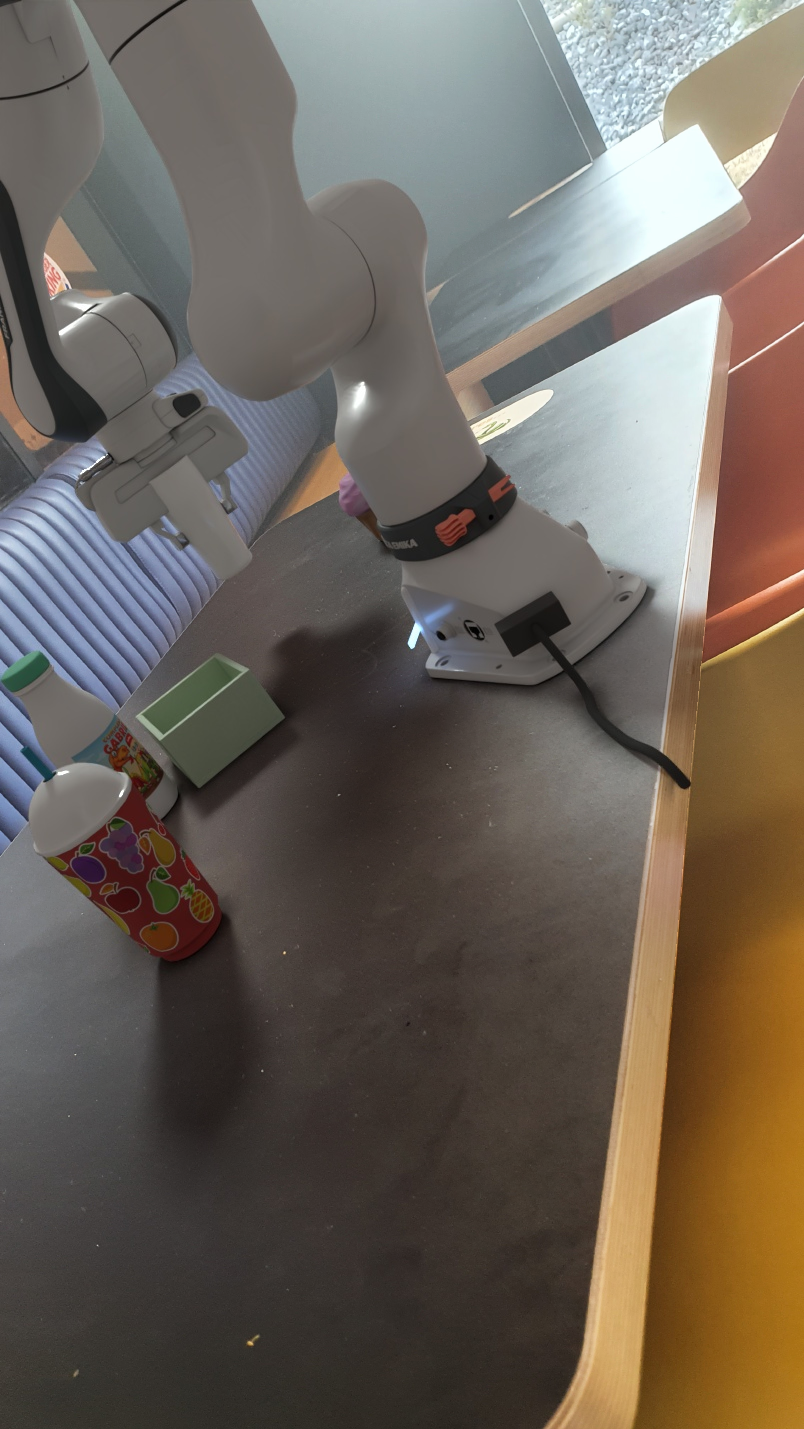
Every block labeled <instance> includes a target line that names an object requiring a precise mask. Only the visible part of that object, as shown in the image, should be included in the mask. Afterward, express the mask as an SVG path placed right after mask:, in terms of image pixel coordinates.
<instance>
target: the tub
mask: <svg viewBox="0 0 804 1429" xmlns="http://www.w3.org/2000/svg"><path fill="white" fill-rule="evenodd" d="M285 718H286V717H285V715H284V714H283V713H282V711H281V710H280V708H279V706H278V705H277V704H276V703H275V701H274V700H273V699H272V698H271V696H270V694H269V693H268V692H267V690H266V689H265V688H264V687H263V686H262V684H261V683H260V681H259V680H258V679H257V677H256V676H255V674H254V673H253V672H252V671H251V669H250V668H248V667H245V666H244V665H242V664H240V663H238V662H236V661H234V660H232V659H230V658H229V657H227V656H225V655H223V654H221V653H219V652H215V653H214V654H213V655H212V656H211V657H209V658H208V659H207V660H206V661H204V662H203V663H202V664H200V665H199V666H198V667H196V668H195V669H194V670H192V671H191V672H190V673H189V674H188V675H187V676H185V677H183V679H181V680H180V681H179V682H177V683H176V684H175V685H173V686H172V687H171V688H170V689H169V690H168V691H166V692H164V694H162V695H161V696H160V697H158V698H157V699H155V701H154V702H152V703H151V704H149V705H148V706H146V708H145V709H143V710H142V711H141V712H140V713H138V714H136V716H135V719H136V720H137V721H138V723H139V724H140V725H141V726H142V727H143V729H145V731H146V732H147V733H148V734H149V735H150V736H151V738H152V739H153V741H155V743H156V744H157V745H158V747H160V749H161V750H162V752H164V753H165V755H166V756H167V757H168V758H169V760H170V761H171V762H172V763H173V764H174V765H175V766H176V767H177V768H178V769H179V770H180V771H181V773H183V774H184V775H185V776H186V777H187V778H188V779H189V780H190V781H191V782H192V783H193V784H194V785H195V786H196V787H197V788H198V789H201V788H202V787H203V786H204V785H206V784H207V783H208V782H209V781H210V780H212V779H213V778H214V777H215V776H216V775H218V773H220V772H221V771H222V770H223V769H225V768H226V767H227V766H229V765H230V764H231V763H232V762H233V761H234V760H236V759H237V758H238V757H239V756H240V755H242V754H243V753H245V751H247V750H248V749H249V748H251V746H253V745H254V744H255V743H257V742H258V741H259V740H260V739H262V737H263V736H265V735H266V734H267V733H268V732H270V731H271V730H272V729H274V728H275V727H276V726H277V725H278V724H279V723H280V722H282V721H283V720H284V719H285Z"/></svg>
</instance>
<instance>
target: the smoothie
mask: <svg viewBox="0 0 804 1429" xmlns="http://www.w3.org/2000/svg"><path fill="white" fill-rule="evenodd" d="M19 752H20V753H21V754H22V756H23V757H24V758H25V759H26V760H27V761H28V762H29V763H30V764H31V765H32V767H33V768H34V769H35V770H36V771H37V772H38V773H39V774H40V775H41V776H42V778H43V779H42V780H41V781H40V782H39V784H38V785H37V787H36V789H35V790H34V792H33V794H32V796H31V799H30V803H29V806H28V815H27V819H28V827H29V830H30V832H31V835H32V838H33V845H32V847H33V849H34V852H35V854H37V855H38V856H39V857H41V858H43V859H44V860H45V861H46V863H48V865H50V866H51V867H52V868H53V869H54V870H55V871H57V873H59V874H60V875H61V876H62V877H63V878H64V879H66V881H67V882H69V883H70V884H71V885H72V886H73V887H74V888H75V889H77V890H78V891H79V892H80V893H81V894H82V895H83V896H84V897H85V898H86V899H88V901H90V902H91V903H92V904H93V905H94V906H95V907H96V908H97V909H98V910H100V911H101V912H102V914H104V915H105V916H106V917H107V918H109V919H110V921H112V922H113V923H114V924H115V925H116V926H118V927H119V929H121V930H122V931H123V932H124V933H125V934H127V936H128V937H129V938H131V939H132V940H133V941H134V942H135V943H137V944H138V946H140V947H141V948H142V949H143V950H144V951H145V952H146V953H147V954H149V955H150V956H152V957H155V958H162V959H163V960H165V961H168V962H177V961H181V960H184V959H186V958H188V957H190V956H191V955H193V954H194V953H196V952H197V951H199V950H200V949H201V948H203V946H204V945H206V944H207V943H208V942H209V941H210V939H211V938H212V937H213V935H214V934H215V932H216V930H217V929H218V927H219V926H220V923H221V919H222V908H220V906H219V896H218V894H217V892H216V891H215V889H214V888H213V887H212V886H211V885H210V883H209V882H208V880H207V879H206V877H205V876H204V875H203V874H202V873H201V871H200V870H199V869H198V868H197V866H196V865H195V864H194V862H193V861H192V860H191V858H190V857H189V856H188V853H186V851H185V850H184V849H183V848H182V846H181V845H180V843H179V842H178V841H177V839H176V838H175V837H174V835H173V834H172V833H171V832H170V831H169V829H168V828H167V826H166V825H165V824H164V822H163V821H162V819H161V820H160V819H159V817H158V816H157V815H156V813H155V812H154V811H153V809H152V808H151V807H150V805H149V804H148V803H147V801H146V800H145V799H144V797H143V796H142V795H141V793H140V792H139V791H138V789H137V788H136V787H135V786H134V785H133V784H132V781H131V779H130V778H129V776H128V775H127V774H126V773H123V772H116V771H114V770H113V769H110V768H108V767H106V766H103V765H99V764H94V763H83V762H81V763H74V764H70V765H66V766H63V767H61V768H59V769H57V768H55V769H54V770H53V771H52V770H51V769H50V768H49V767H48V766H47V765H46V764H45V763H44V762H43V761H42V759H40V758H39V756H38V755H37V754H36V753H35V752H34V751H33V750H32V749H31V748H30V747H29V746H28V745H25V746H24V747H22V748H21V749H20V750H19Z"/></svg>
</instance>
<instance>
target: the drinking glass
mask: <svg viewBox="0 0 804 1429" xmlns="http://www.w3.org/2000/svg"><path fill="white" fill-rule="evenodd" d="M148 484H151V485H152V487H153V488H154V490H155V491H156V493H157V494H158V496H159V497H160V498H161V500H162V501H163V502H164V504H165V505H166V506H167V508H168V510H169V512H168V513H167V514H165V515H164V516H163V517H165V518H166V519H167V521H168V522H169V523H170V524H171V525H172V526H173V527H174V529H175V530H176V531H177V533H178V532H179V533H182V534H183V535H184V536H185V539H186V540H187V541H188V542H189V545H188V546H190V547H191V548H192V549H193V551H194V552H195V553H196V554H197V555H198V556H199V557H200V559H201V560H202V561H203V562H204V563H205V564H206V566H207V567H208V568H209V569H210V571H211V572H212V573H213V575H214V576H215V577H216V579H218V580H219V581H227V580H230V579H232V578H234V577H236V576H237V575H240V573H241V572H243V571H244V570H245V569H247V567H248V566H249V565H250V564H251V563H252V561H253V554H252V552H251V550H250V549H249V547H248V546H247V544H246V543H245V542H244V540H243V539H242V537H241V535H240V533H239V531H238V530H237V528H236V527H235V525H234V524H233V521H232V519H231V518H230V516H229V515H228V514H227V513H226V511H225V510H224V508H223V506H222V505H221V503H220V500H219V498H218V496H217V494H216V493H215V491H214V489H213V488H212V485H211V484H210V482H209V483H207V482H206V481H205V479H204V478H203V476H202V475H201V474H200V472H199V471H198V469H197V468H196V467H195V465H194V464H193V463H192V461H191V460H190V459H189V458H188V455H185V456H184V457H183V458H182V459H181V460H179V461H178V462H177V463H176V464H174V465H173V466H172V467H170V468H169V469H168V470H166V471H165V472H163V473H162V474H160V475H159V476H157V477H156V478H154V479H152V480H150V481H149V482H148Z"/></svg>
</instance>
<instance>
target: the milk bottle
mask: <svg viewBox="0 0 804 1429" xmlns="http://www.w3.org/2000/svg"><path fill="white" fill-rule="evenodd" d="M0 682H1V684H2V685H3V686H4V687H5V688H6V690H7V691H9V692H10V693H11V694H12V695H13V697H14V698H18V699H19V700H20V701H21V702H22V704H23V706H24V708H25V710H26V712H27V714H28V715H29V719H30V722H31V725H32V728H33V732H34V736H35V738H36V740H37V743H38V745H39V747H40V749H41V750H42V752H43V753H44V755H45V756H46V757H47V759H48V760H49V761H50V763H51V764H52V765H53V766H54V767H55V769H59V768H61V767H63V766H66V765H70V764H74V763H81V762H83V763H94V764H99V765H103V766H106V767H108V768H110V769H113V770H114V771H116V772H123V773H126V774H127V775H128V776H129V778H130V779H131V781H132V784H133V785H134V786H135V787H136V788H137V789H138V791H139V792H140V793H141V795H142V796H143V797H144V799H145V800H146V801H147V803H148V804H149V805H150V807H151V808H152V809H153V811H154V812H155V813H156V815H157V816H158V817H159V819H160V820H161V821H162V819H163V818H164V817H165V816H166V815H167V814H168V813H169V812H170V810H171V809H172V808H173V806H174V805H175V803H176V801H177V799H178V797H179V796H178V795H179V791H178V787H177V785H176V784H175V783H174V781H173V780H172V779H171V777H170V776H169V775H168V774H167V773H166V771H165V770H164V769H163V768H162V767H161V765H160V764H159V763H158V762H157V760H156V759H155V758H154V757H153V756H152V755H151V754H150V752H149V751H148V750H147V749H146V748H145V746H144V745H143V744H142V743H141V742H140V741H139V740H138V738H137V737H136V736H135V734H133V732H132V731H131V730H130V728H128V727H127V726H126V724H125V723H124V722H123V721H122V720H121V718H120V717H118V715H117V714H116V713H115V712H114V711H113V709H111V707H109V705H107V704H106V703H105V702H104V701H103V700H101V699H100V698H98V697H97V696H96V695H94V694H93V693H91V692H88V691H86V690H84V689H82V688H80V687H78V686H76V685H74V684H73V683H71V682H70V681H67V680H66V679H64V678H63V677H61V676H60V675H59V674H58V673H57V672H56V671H55V666H54V665H53V664H52V663H51V662H50V660H49V659H48V658H47V656H46V655H45V654H44V653H43V652H42V651H40V650H34V651H32V652H29V653H27V654H25V655H24V656H22V657H21V658H20V659H18V660H17V661H16V662H14V663H13V664H11V665H10V666H9V667H7V669H6V670H5V671H4V672H3V674H2V675H1V676H0Z"/></svg>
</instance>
